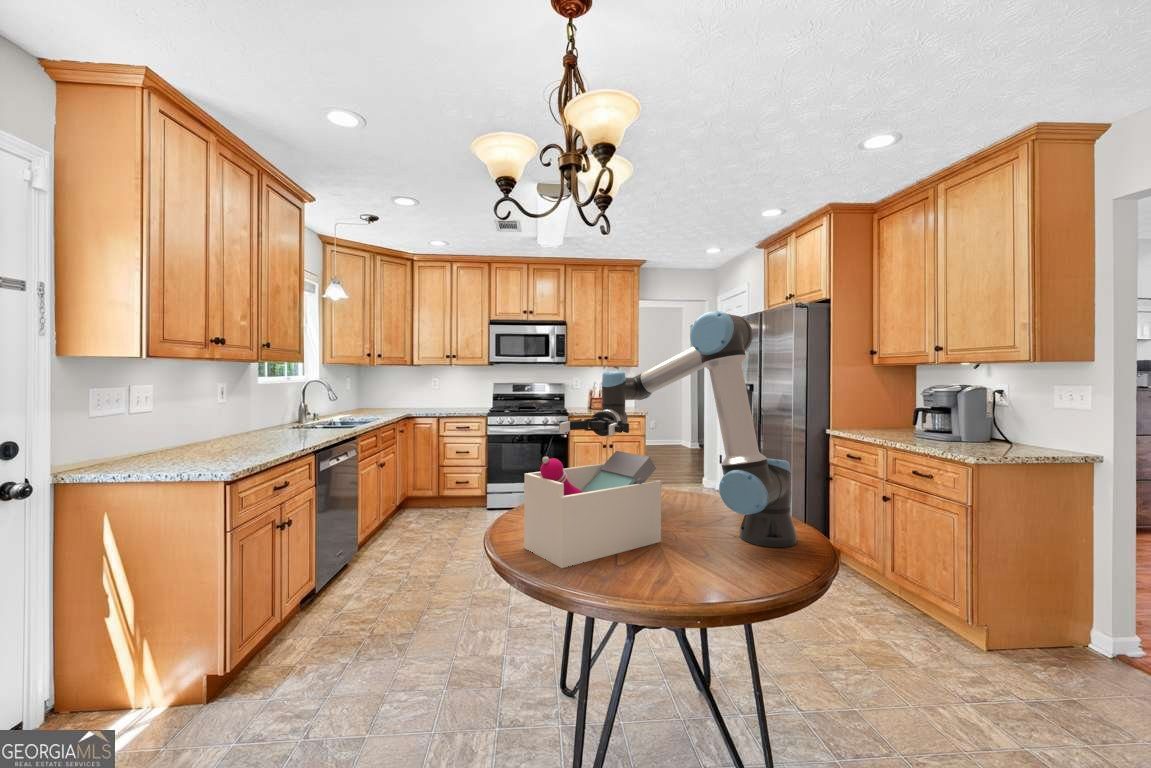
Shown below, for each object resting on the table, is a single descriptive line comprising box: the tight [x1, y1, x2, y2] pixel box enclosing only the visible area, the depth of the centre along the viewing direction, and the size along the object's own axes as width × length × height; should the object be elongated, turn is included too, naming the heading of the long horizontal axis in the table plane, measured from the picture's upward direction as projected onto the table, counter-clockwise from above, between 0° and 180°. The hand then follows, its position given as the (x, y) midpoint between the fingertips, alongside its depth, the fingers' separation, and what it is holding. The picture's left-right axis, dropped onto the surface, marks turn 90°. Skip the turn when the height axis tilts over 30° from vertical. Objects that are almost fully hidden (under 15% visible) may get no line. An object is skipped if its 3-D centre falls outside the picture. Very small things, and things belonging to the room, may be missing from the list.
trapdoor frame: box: [523, 462, 662, 569], centre depth 139 cm, size 19×34×20 cm, turn 127°
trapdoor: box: [582, 450, 657, 493], centre depth 142 cm, size 14×22×4 cm
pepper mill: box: [539, 456, 583, 496], centre depth 133 cm, size 7×7×20 cm
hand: (585, 429), depth 134 cm, fingers open, 13 cm apart
